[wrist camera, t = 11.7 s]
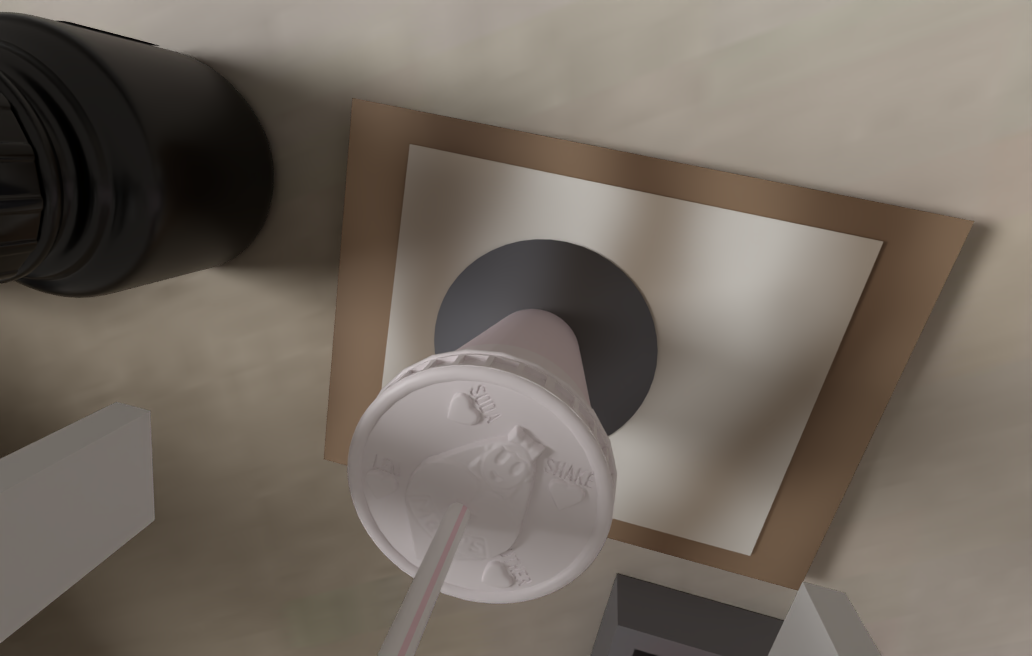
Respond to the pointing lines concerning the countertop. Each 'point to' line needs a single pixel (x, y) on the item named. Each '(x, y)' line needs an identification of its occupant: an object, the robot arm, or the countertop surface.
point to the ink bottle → (120, 161)
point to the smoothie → (485, 471)
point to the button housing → (678, 624)
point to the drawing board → (646, 315)
